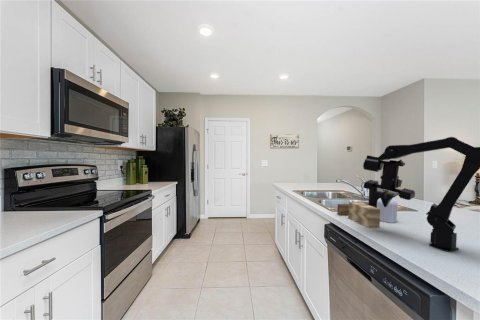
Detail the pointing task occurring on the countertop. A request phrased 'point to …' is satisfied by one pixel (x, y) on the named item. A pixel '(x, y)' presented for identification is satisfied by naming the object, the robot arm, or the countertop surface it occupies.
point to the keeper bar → (364, 214)
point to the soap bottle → (388, 211)
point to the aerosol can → (373, 196)
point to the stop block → (343, 209)
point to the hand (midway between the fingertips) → (385, 206)
